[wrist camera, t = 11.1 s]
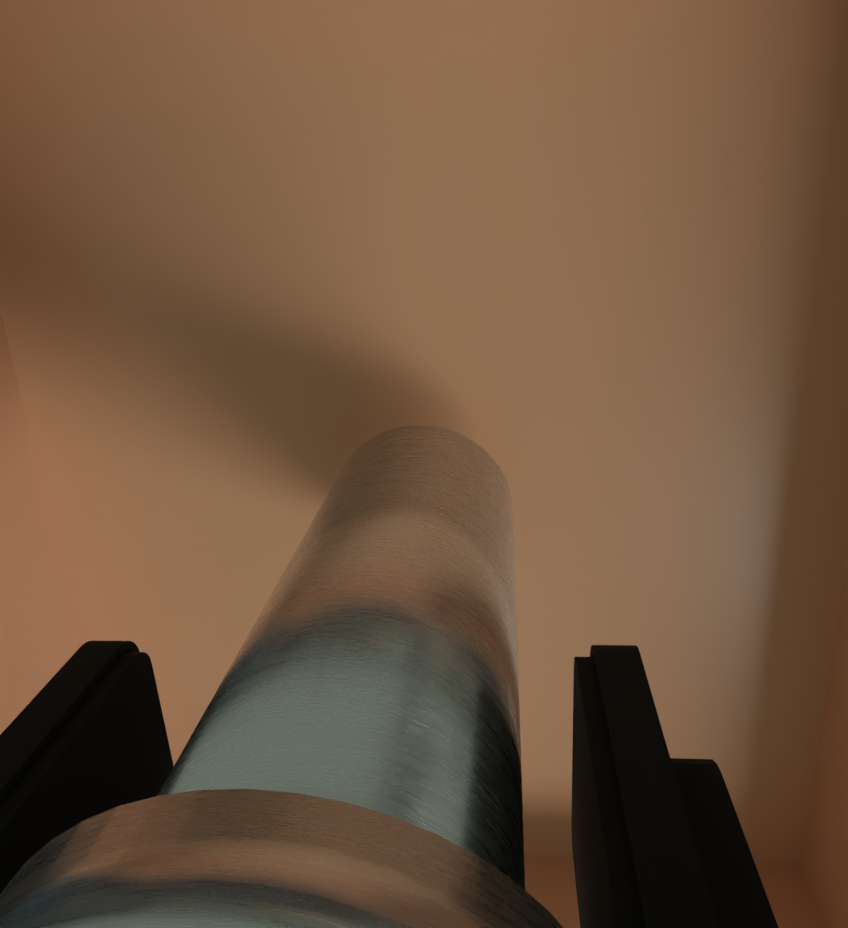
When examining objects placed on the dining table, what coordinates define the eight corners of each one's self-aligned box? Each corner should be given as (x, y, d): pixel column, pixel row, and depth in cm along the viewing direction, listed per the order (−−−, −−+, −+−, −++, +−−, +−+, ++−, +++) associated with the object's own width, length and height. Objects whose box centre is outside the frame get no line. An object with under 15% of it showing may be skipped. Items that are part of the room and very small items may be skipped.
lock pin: (289, 396, 16) (-290, 970, 4) (546, 389, 15) (680, 1031, 4) (315, 617, 18) (-40, 1433, 6) (545, 618, 17) (634, 1525, 6)
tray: (-101, -84, 16) (-347, -194, 11) (982, -201, 14) (1230, -399, 9) (126, 834, 25) (40, 984, 20) (812, 860, 22) (893, 1037, 18)
